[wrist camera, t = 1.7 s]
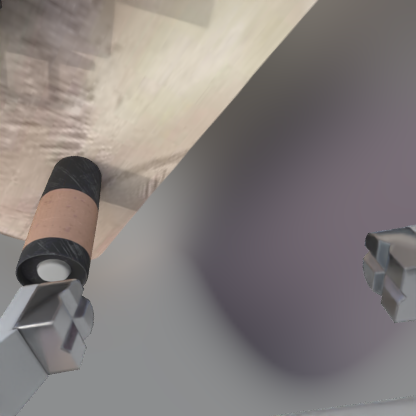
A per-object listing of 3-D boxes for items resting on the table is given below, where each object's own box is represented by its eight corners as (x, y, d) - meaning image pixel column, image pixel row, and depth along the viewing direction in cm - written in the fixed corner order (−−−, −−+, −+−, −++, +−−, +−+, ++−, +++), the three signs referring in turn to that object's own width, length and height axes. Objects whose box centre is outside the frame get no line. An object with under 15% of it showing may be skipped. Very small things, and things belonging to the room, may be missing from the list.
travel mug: (56, 147, 48) (18, 246, 33) (109, 163, 51) (96, 260, 36) (47, 187, 52) (10, 291, 37) (96, 199, 55) (80, 300, 40)
